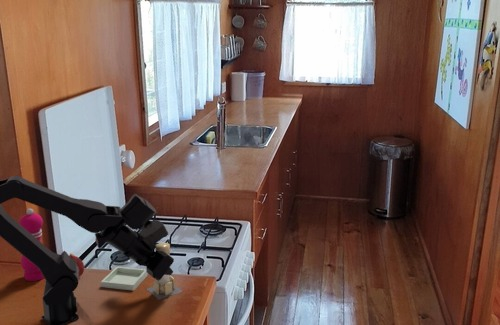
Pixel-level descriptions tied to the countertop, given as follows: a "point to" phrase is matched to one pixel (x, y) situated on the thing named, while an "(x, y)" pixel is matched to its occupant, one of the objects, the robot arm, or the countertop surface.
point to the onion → (78, 264)
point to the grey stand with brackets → (169, 289)
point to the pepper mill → (33, 226)
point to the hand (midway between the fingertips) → (168, 270)
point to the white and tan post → (165, 278)
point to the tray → (124, 278)
